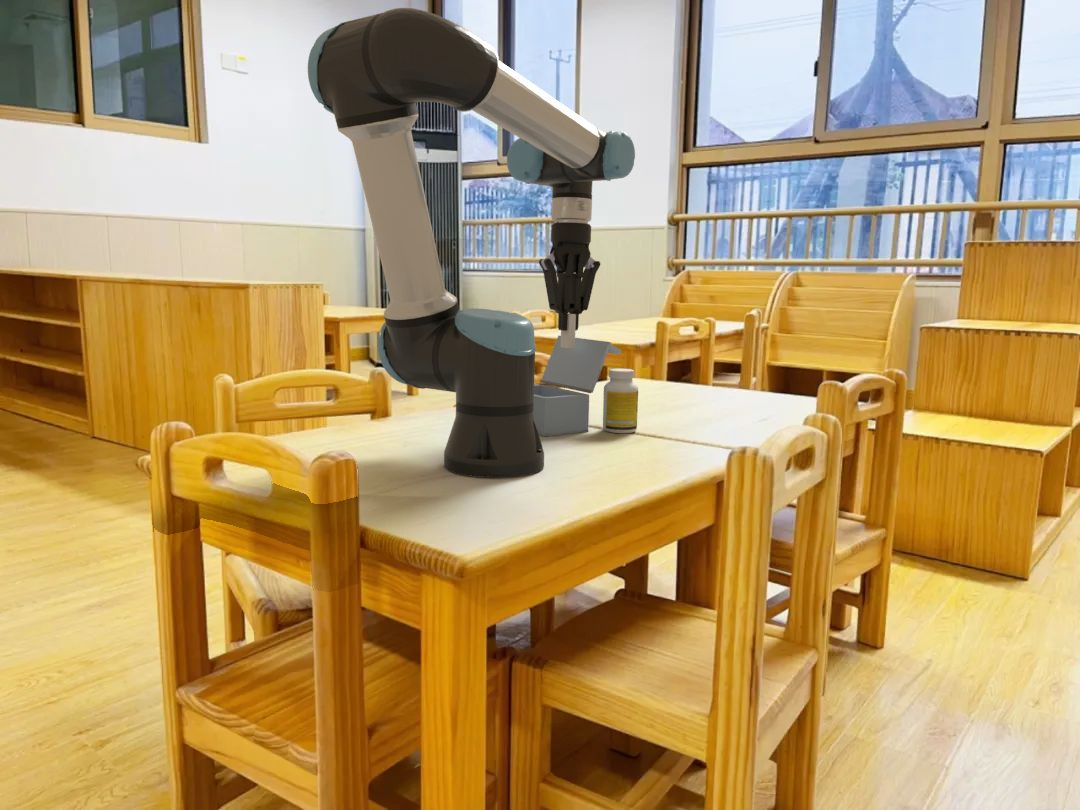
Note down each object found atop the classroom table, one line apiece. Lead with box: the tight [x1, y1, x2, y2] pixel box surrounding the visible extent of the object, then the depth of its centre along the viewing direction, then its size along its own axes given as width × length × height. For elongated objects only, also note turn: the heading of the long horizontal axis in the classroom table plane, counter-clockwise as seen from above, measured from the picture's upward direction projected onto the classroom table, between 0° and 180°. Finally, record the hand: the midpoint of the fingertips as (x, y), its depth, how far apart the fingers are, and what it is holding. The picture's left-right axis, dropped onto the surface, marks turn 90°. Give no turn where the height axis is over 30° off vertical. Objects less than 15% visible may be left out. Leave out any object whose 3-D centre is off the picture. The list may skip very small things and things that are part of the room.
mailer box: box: [533, 383, 590, 438], centre depth 155 cm, size 10×16×7 cm, turn 34°
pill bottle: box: [602, 368, 639, 434], centre depth 152 cm, size 6×6×12 cm
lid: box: [539, 335, 623, 394], centre depth 159 cm, size 10×17×5 cm
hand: (567, 347), depth 156 cm, fingers closed
